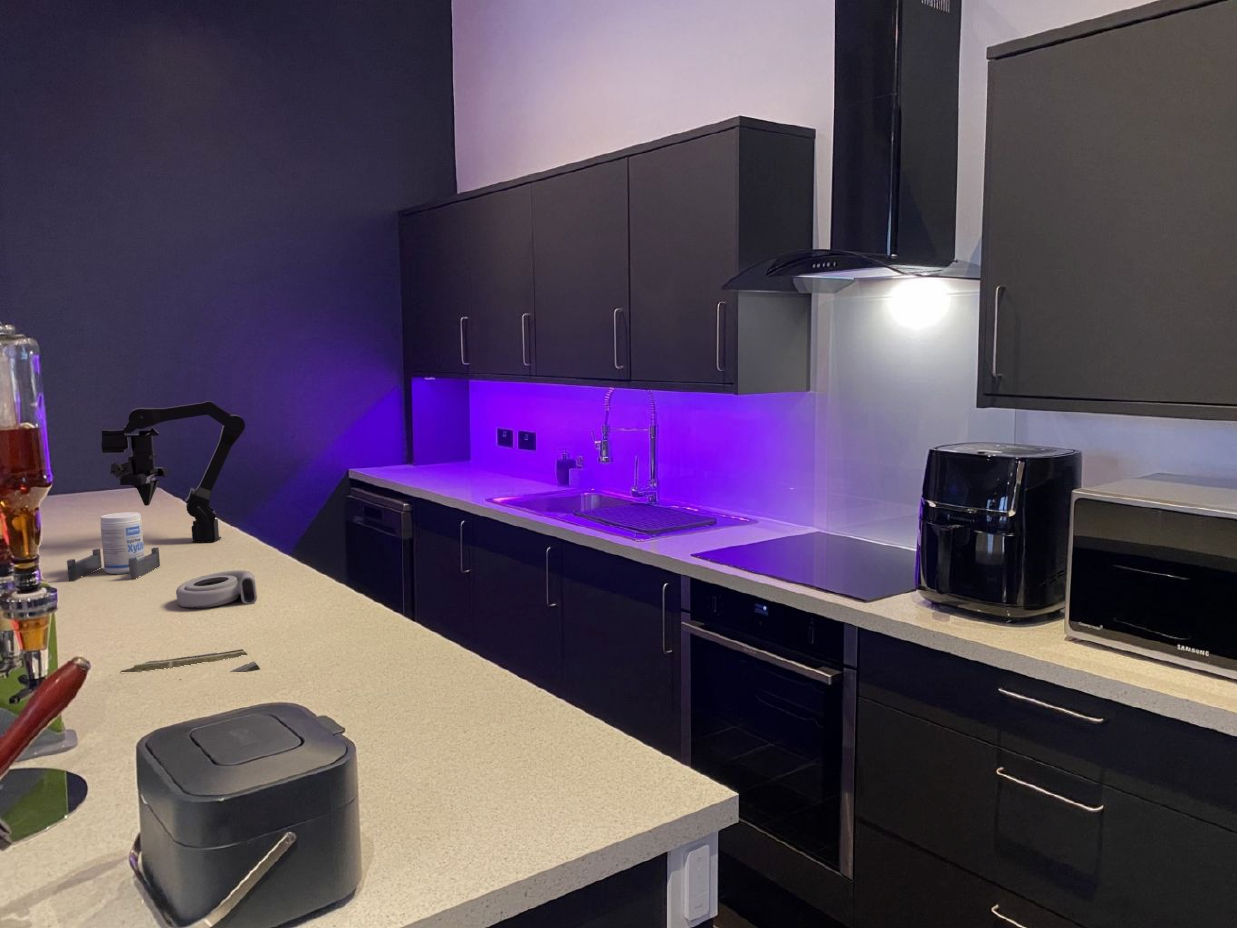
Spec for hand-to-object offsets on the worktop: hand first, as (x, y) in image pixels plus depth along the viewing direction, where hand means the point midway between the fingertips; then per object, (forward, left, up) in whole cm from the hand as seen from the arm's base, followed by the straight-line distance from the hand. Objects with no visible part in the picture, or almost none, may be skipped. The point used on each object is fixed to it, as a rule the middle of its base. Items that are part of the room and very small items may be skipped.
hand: (146, 505), depth 285 cm
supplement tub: (-8, +31, -12) cm, 35 cm away
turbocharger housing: (-44, +64, -12) cm, 79 cm away
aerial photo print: (-58, +115, -13) cm, 129 cm away
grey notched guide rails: (-7, +35, -12) cm, 38 cm away
